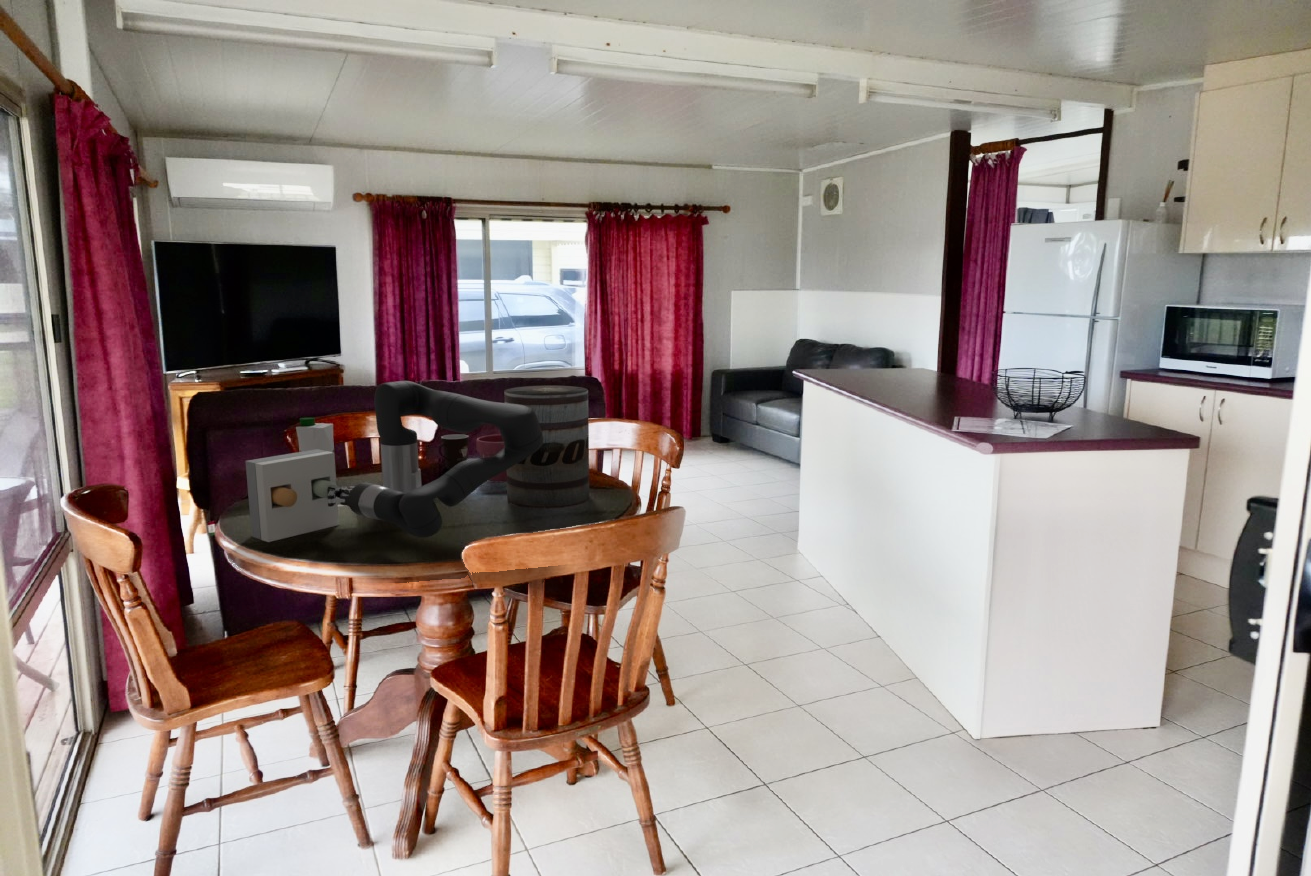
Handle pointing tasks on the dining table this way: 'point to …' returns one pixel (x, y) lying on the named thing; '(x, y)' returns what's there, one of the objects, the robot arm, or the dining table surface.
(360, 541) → the dining table surface
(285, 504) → the button orange
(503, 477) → the plant pot
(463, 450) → the coffee mug
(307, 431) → the milk carton
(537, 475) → the barrel
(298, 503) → the control box
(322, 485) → the button sage
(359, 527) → the dining table surface
